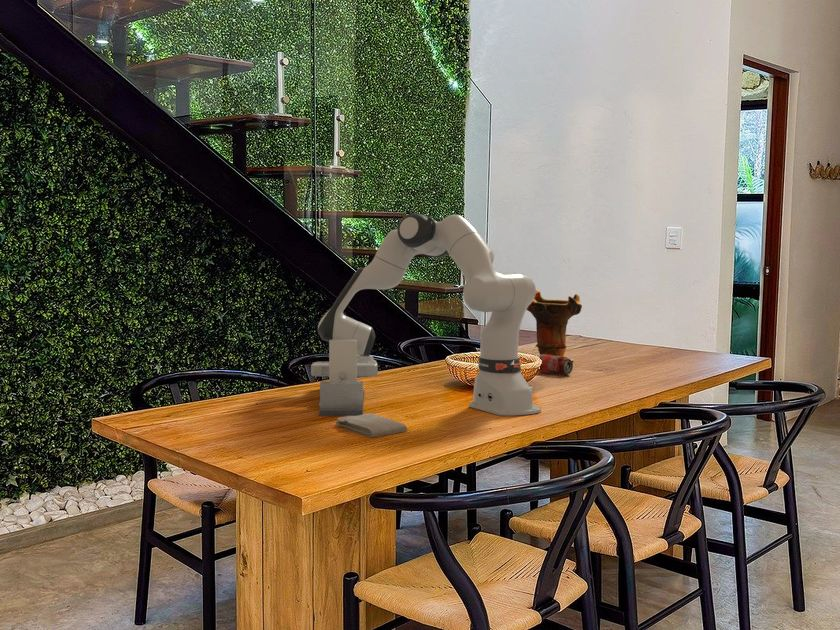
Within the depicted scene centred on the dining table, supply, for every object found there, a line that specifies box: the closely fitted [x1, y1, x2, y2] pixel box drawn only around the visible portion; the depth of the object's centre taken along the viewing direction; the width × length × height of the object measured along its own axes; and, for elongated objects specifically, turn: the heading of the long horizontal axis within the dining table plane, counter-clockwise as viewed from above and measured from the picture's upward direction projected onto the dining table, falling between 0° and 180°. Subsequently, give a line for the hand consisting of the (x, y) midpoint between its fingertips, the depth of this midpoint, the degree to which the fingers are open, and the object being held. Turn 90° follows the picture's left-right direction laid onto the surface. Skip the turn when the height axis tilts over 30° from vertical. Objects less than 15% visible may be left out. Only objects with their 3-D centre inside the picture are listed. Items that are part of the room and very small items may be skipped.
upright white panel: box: [328, 340, 358, 381], centre depth 262 cm, size 8×10×17 cm
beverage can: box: [538, 354, 574, 376], centre depth 320 cm, size 7×12×7 cm, turn 45°
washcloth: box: [335, 412, 408, 438], centre depth 232 cm, size 12×18×3 cm, turn 39°
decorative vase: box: [526, 289, 583, 357], centre depth 350 cm, size 21×23×28 cm
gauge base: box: [318, 380, 365, 417], centre depth 262 cm, size 30×12×8 cm, turn 3°
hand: (343, 373), depth 264 cm, fingers closed, pressing on upright white panel
